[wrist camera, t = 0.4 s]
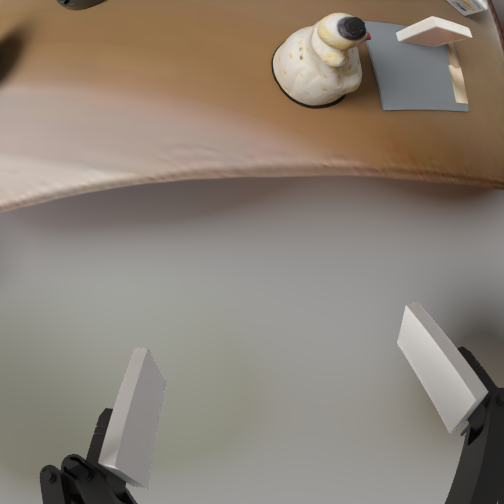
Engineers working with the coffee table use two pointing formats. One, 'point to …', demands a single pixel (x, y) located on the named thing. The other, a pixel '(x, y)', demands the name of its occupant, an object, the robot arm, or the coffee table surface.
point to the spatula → (456, 75)
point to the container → (469, 6)
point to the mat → (410, 72)
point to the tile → (433, 32)
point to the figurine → (321, 61)
